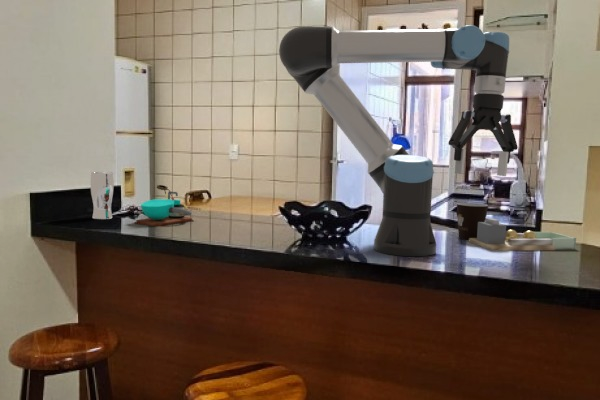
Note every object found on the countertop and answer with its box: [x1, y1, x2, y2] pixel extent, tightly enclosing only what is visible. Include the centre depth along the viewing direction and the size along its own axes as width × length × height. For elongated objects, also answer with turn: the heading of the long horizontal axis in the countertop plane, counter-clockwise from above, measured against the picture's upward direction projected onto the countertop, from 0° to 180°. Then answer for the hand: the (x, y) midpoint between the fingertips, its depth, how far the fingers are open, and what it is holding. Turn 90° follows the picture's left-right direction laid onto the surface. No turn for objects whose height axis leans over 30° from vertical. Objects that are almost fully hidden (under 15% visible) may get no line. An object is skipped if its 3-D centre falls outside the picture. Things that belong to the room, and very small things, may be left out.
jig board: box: [468, 232, 556, 251], centre depth 143 cm, size 18×12×3 cm, turn 101°
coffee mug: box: [456, 202, 489, 241], centre depth 154 cm, size 12×9×10 cm
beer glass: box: [90, 171, 115, 220], centre depth 170 cm, size 7×7×15 cm
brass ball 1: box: [505, 229, 518, 240], centre depth 144 cm, size 3×3×3 cm
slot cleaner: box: [477, 217, 507, 244], centre depth 141 cm, size 5×6×6 cm
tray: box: [533, 231, 577, 250], centre depth 145 cm, size 7×10×3 cm
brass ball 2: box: [523, 230, 536, 239], centre depth 143 cm, size 3×3×3 cm
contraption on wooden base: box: [133, 184, 195, 227], centre depth 165 cm, size 14×18×15 cm
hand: (480, 174), depth 140 cm, fingers open, 13 cm apart
